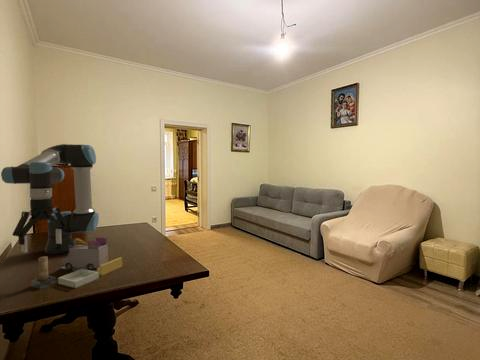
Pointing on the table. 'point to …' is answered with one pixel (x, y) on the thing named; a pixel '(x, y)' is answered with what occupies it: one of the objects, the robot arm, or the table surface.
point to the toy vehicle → (87, 254)
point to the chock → (110, 266)
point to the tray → (78, 278)
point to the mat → (79, 268)
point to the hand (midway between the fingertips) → (42, 247)
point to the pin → (43, 268)
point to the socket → (46, 283)
